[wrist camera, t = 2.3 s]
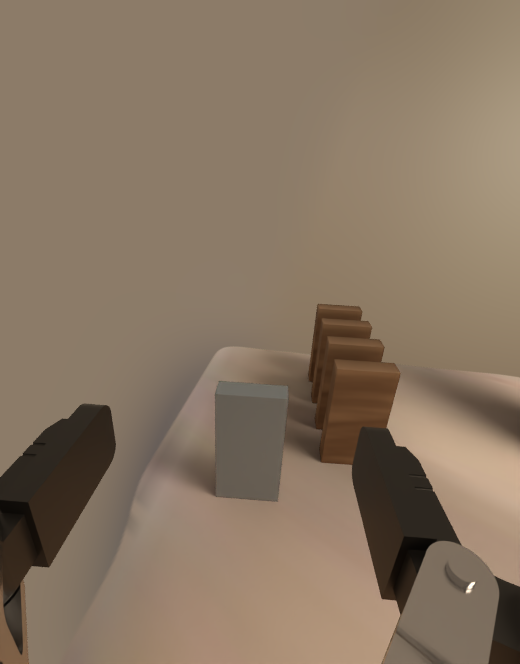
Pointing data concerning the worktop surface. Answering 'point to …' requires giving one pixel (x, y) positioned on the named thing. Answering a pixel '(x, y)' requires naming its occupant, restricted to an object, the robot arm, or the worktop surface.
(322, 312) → the domino
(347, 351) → the domino
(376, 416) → the domino
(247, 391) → the domino
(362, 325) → the domino
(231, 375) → the worktop surface
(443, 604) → the robot arm
